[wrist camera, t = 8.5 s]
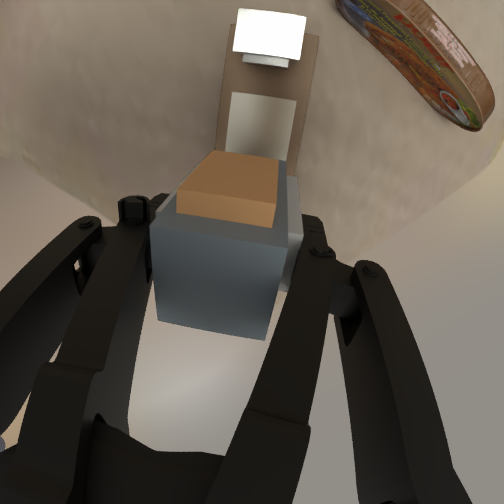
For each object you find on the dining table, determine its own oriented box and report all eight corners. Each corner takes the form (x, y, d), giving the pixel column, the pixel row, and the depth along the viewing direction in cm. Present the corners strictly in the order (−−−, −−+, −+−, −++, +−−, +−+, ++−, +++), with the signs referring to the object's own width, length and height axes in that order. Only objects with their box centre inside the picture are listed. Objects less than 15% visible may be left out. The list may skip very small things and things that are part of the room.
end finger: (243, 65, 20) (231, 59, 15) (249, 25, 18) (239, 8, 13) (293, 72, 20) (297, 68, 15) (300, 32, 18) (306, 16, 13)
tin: (324, 5, 17) (344, -26, 10) (346, -15, 15) (373, -49, 8) (442, 124, 21) (494, 147, 14) (460, 104, 19) (515, 122, 12)
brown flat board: (209, 247, 31) (206, 253, 30) (232, 26, 19) (230, 23, 18) (275, 258, 31) (274, 265, 30) (317, 38, 19) (319, 36, 18)
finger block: (209, 213, 18) (157, 320, 10) (215, 136, 15) (148, 200, 8) (274, 223, 18) (264, 340, 10) (288, 147, 15) (294, 223, 8)
